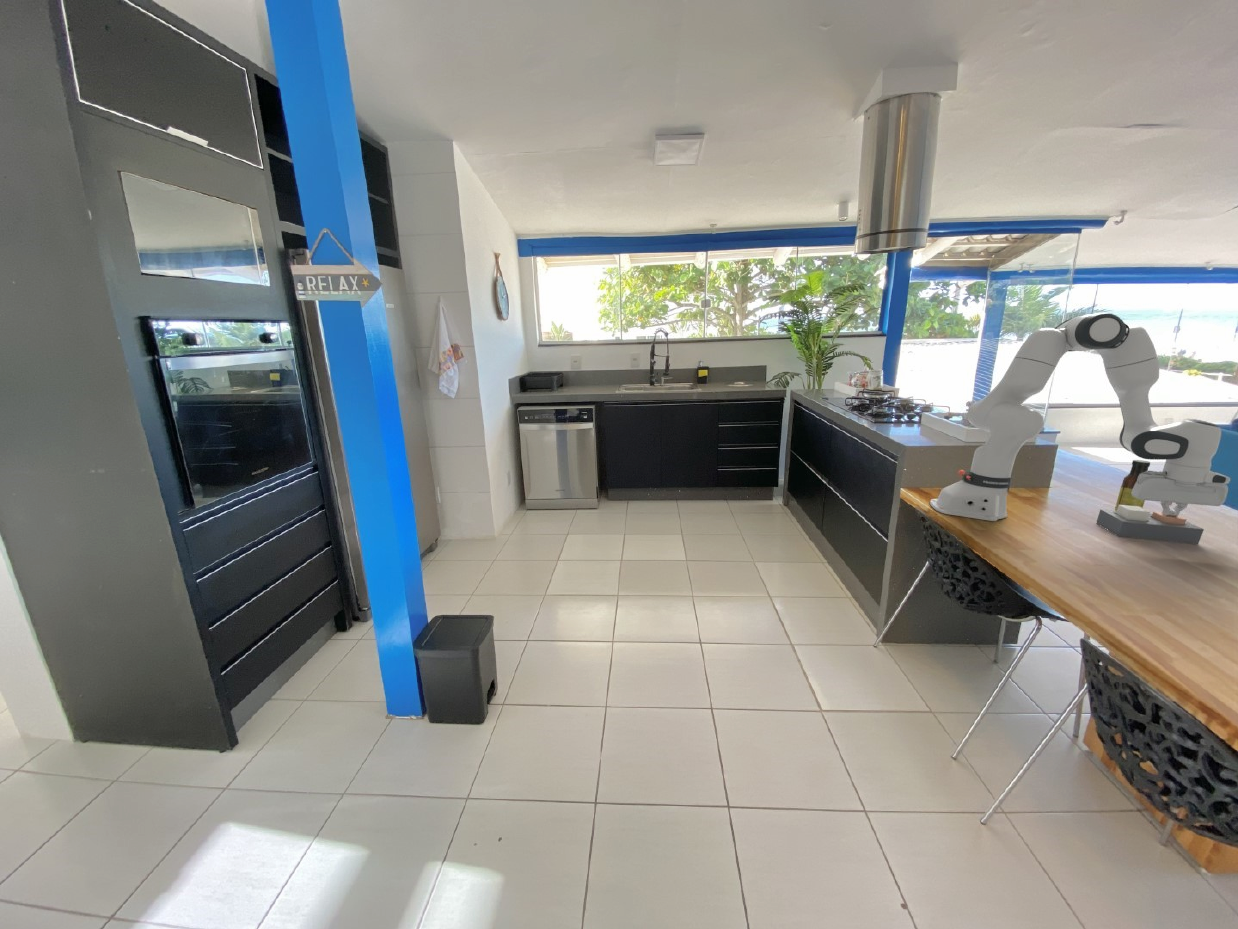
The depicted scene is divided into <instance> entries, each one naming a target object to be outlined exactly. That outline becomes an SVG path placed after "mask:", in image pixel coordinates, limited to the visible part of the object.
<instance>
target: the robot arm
mask: <svg viewBox="0 0 1238 929" xmlns="http://www.w3.org/2000/svg"><path fill="white" fill-rule="evenodd" d="M1093 350H1094V351H1096V352H1097V353H1098V354H1099V355H1100V357H1101V358H1102V363H1103V366H1104V371H1105V375H1106V377H1107V379H1108V382H1109V384H1110V385H1111V387H1112V388H1113V391H1114V392H1115V394H1116V395H1117V399H1118V401H1119V406H1120V410H1121V416H1122V421H1123V423H1122V424H1123V425H1122V428H1121V431H1120V433H1119V443H1120V445H1121V447H1123V449H1125V450H1126V451H1128V452H1130V453H1132V454H1133V455H1135V456H1137V457H1138V458H1141V459H1144V460H1157V461H1159V460H1165V463H1164V466H1163V469H1162V471H1161V470H1160V471H1158V470H1157V471H1155V470H1148V471H1146V472H1143V473H1141V474H1139V476H1138V479H1137V482H1136V483H1135V485H1134V487H1133V489H1132V492H1131V494H1132V496H1133V497H1135V498H1137V499H1139V500H1145V501H1151V502H1160V505H1161V507H1162V514H1163V515H1165V516H1180V512H1182V511H1183V510H1185V509H1187V507H1188V504H1189V505H1199V506H1209V507H1210V506H1212V507H1220V506H1221V505H1224V503H1225V502H1226V499H1227V496H1228V492H1229V487H1228V485H1229V483H1230V482H1231V477H1229V476H1227V475H1224V474H1222V473H1219V472H1216V471H1213V470H1211V468H1212V460H1213V457H1214V456H1215V455H1216V454H1217V451H1218V450H1219V445H1220V441H1221V438H1222V429H1221V427H1220V426H1219V425H1218V424H1215V423H1213V422H1208V421H1207V420H1206V421H1205V420H1201V419H1195V418H1184V419H1182V420H1181V421H1180V420H1179V421H1177V422H1174V423H1170V424H1167V425H1166V424H1165V425H1158V424H1157V423H1156V422H1155V421H1154V419H1153V414H1152V409H1151V405H1150V399H1149V394H1150V390H1151V388H1152V387H1153V386H1154V385H1155V384H1156V383H1157V382H1158V381H1159V378H1160V362H1159V357H1158V354H1157V350H1156V348H1155V346H1154V342H1153V340H1152V339H1151V337H1150V334H1149V333H1148V332H1147V330H1146V329H1145V328H1144V327H1142V326H1140V325H1128V324H1127V323H1125V322H1124V321H1123V320H1122V319H1121V317H1119V316H1118V315H1115V314H1114V313H1110V312H1096V313H1091V314H1090V313H1089V314H1082V315H1078V316H1076V317H1072V318H1069V319H1067V320H1065V321H1063V322H1062V323H1060V324H1058V325H1057V326H1056V327H1054V328H1053V327H1043V328H1038V329H1035V330H1034V331H1033V332H1031V334H1030V335H1029V336H1028V337H1027V338H1026V340H1025V341H1024V343H1022V345H1021V346H1020V348H1019V349H1018V351H1017V353H1016V354H1015V356H1014V357H1013V359H1012V360H1011V363H1010V364H1009V366H1008V368H1007V370H1006V371H1005V373H1004V375H1003V377H1002V378H1001V379H1000V381H999V382H998V384H997V385H995V387H994V388H993V389H992V390H991V391H990V392H989V393H988V394H987V395H986V396H984V397H983V398H982V399H980V400H977V401H976V402H974V403H973V404H972V405H970V407H969V408H968V410H967V412H966V418H967V421H968V422H969V423H970V424H971V425H972V426H973V427H975V428H977V429H978V430H980V431H984V432H987V433H989V436H988V437H987V439H986V441H985V443H983V445H980V446H978V447H977V448H976V449H975V450H974V453H973V458H972V462H971V467H970V470H968V471H965V470H964V469H959V470H958V472H957V473H958V475H959V476H960V477H962V479H961V480H959V481H957V482H955V483H953V484H950V485H948V486H945V487H944V488H942V489H941V491H940V493H939V495H938V497H937V498H932V499H930V501H929V505H930V506H931V507H932V508H933V509H934V510H935V511H937V512H938V513H942V514H945V515H950V516H951V515H952V516H958V517H963V518H969V519H970V518H971V519H977V520H984V521H990V522H997V521H998V520H1000V519H1005V518H1007V517H1008V513H1007V496H1008V492H1009V490H1010V487H1011V484H1012V480H1013V479H1012V476H1011V475H1012V472H1013V468H1014V464H1015V461H1016V458H1017V455H1018V454H1019V453H1018V452H1019V451H1020V450H1021V448H1022V447H1023V446H1024V444H1025V443H1026V442H1027V441H1029V440H1030V439H1033V438H1034V437H1037V436H1038V435H1039V434H1040V432H1042V430H1043V427H1044V423H1045V420H1044V416H1043V415H1042V414H1041V413H1040V412H1039V411H1037V410H1036V409H1033V408H1031V407H1029V406H1026V405H1022V404H1023V403H1024V402H1025V401H1027V400H1028V399H1029V398H1030V397H1033V396H1035V395H1037V394H1039V393H1040V392H1042V391H1043V390H1044V388H1045V387H1046V385H1047V383H1048V381H1049V380H1050V378H1051V376H1052V375H1053V373H1054V370H1056V367H1057V365H1058V363H1059V362H1060V360H1061V359H1062V357H1063V356H1064V355H1065V354H1066V353H1067V352H1087V351H1093ZM1144 473H1146V474H1144ZM1227 484H1228V485H1227ZM1173 503H1175V507H1174V508H1171V506H1172V505H1173Z"/></svg>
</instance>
